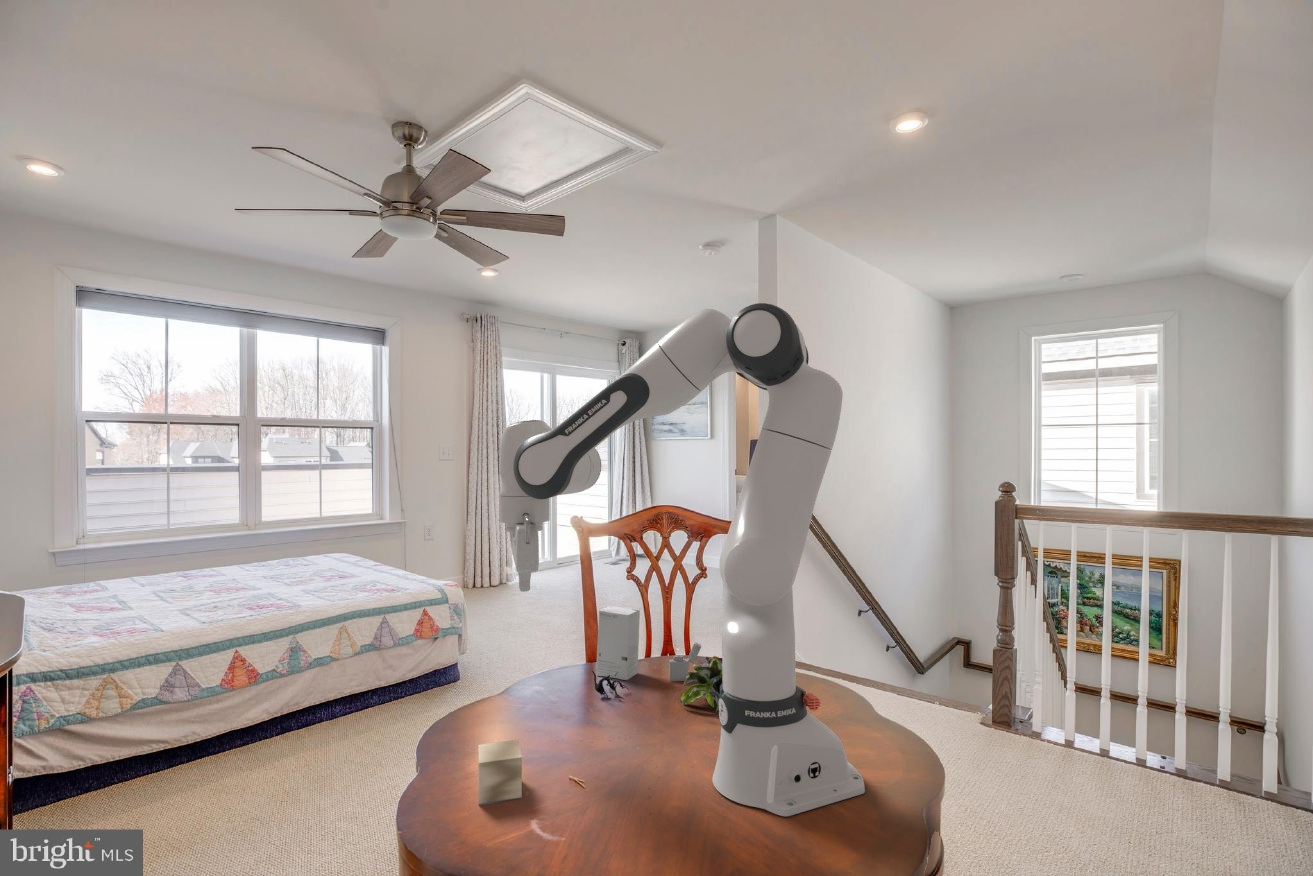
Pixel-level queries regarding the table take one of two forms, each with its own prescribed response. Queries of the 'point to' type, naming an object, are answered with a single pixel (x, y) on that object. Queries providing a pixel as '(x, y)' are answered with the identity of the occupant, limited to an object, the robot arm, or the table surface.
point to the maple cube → (499, 772)
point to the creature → (600, 688)
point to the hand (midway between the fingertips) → (524, 590)
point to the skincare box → (618, 642)
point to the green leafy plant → (704, 682)
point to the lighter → (682, 664)
